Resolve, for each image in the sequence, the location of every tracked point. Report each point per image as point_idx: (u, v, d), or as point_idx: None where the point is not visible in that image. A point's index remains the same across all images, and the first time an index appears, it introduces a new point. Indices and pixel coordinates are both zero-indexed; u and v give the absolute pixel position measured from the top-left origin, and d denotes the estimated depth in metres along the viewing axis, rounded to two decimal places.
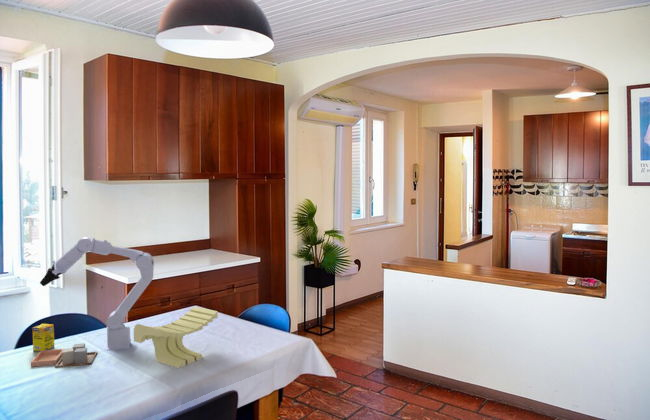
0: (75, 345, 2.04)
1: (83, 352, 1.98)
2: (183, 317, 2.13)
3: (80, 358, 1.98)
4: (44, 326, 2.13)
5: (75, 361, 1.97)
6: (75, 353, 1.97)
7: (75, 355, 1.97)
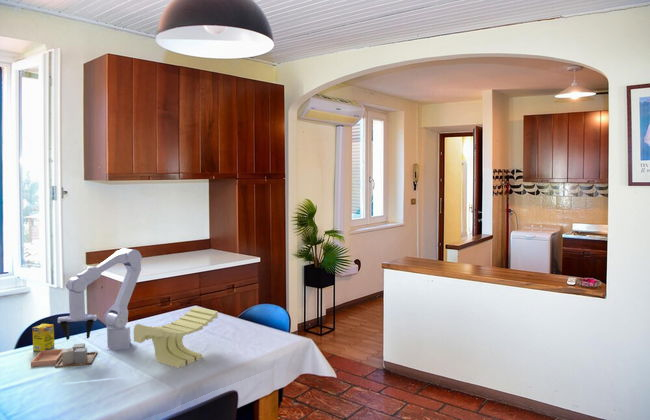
0: (75, 345, 2.04)
1: (83, 352, 1.98)
2: (183, 317, 2.13)
3: (80, 358, 1.98)
4: (44, 326, 2.13)
5: (75, 361, 1.97)
6: (75, 353, 1.97)
7: (75, 355, 1.97)
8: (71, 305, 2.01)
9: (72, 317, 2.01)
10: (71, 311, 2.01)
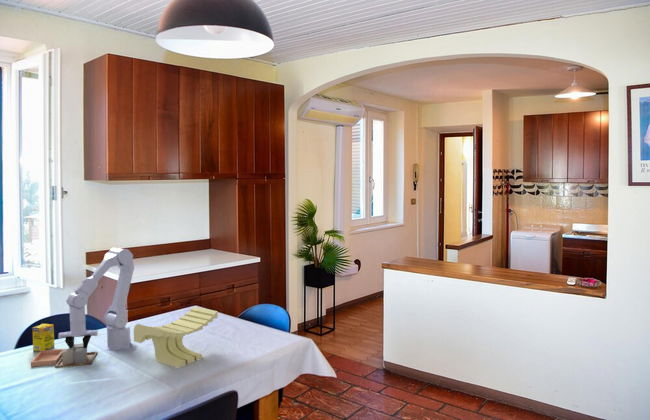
0: (75, 345, 2.04)
1: (83, 352, 1.98)
2: (183, 317, 2.13)
3: (80, 358, 1.98)
4: (44, 326, 2.13)
5: (75, 361, 1.97)
6: (75, 353, 1.97)
7: (75, 355, 1.97)
8: (72, 321, 2.01)
9: (73, 333, 2.02)
10: (72, 327, 2.01)
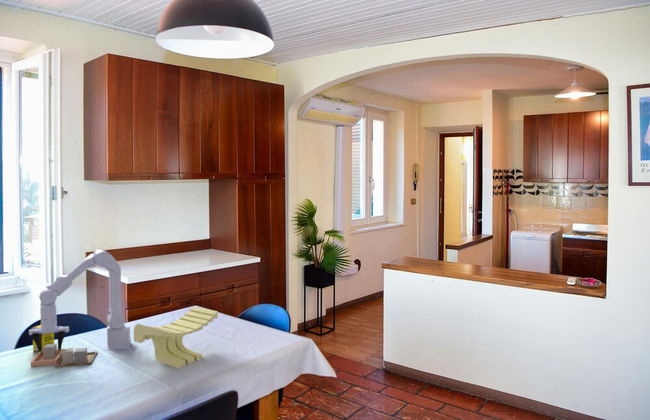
0: (46, 345, 2.04)
1: (83, 352, 1.98)
2: (183, 317, 2.13)
3: (80, 358, 1.98)
4: None
5: (75, 361, 1.97)
6: (75, 353, 1.97)
7: (75, 355, 1.97)
8: (41, 317, 2.01)
9: (43, 329, 2.01)
10: (42, 323, 2.01)
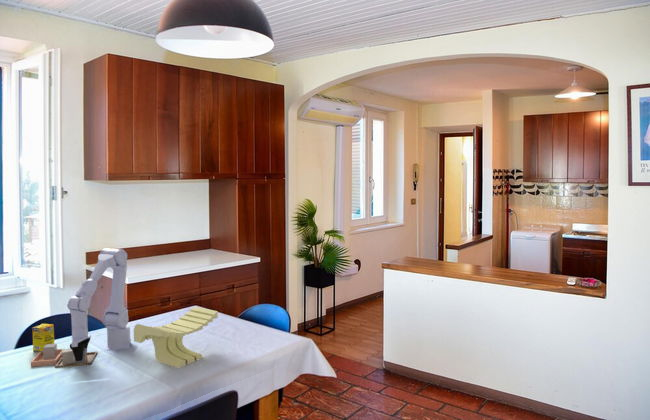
0: (46, 345, 2.04)
1: (83, 352, 1.98)
2: (183, 317, 2.13)
3: None
4: (44, 326, 2.13)
5: (75, 361, 1.97)
6: None
7: None
8: (75, 325, 1.96)
9: (85, 335, 1.98)
10: (84, 330, 1.98)
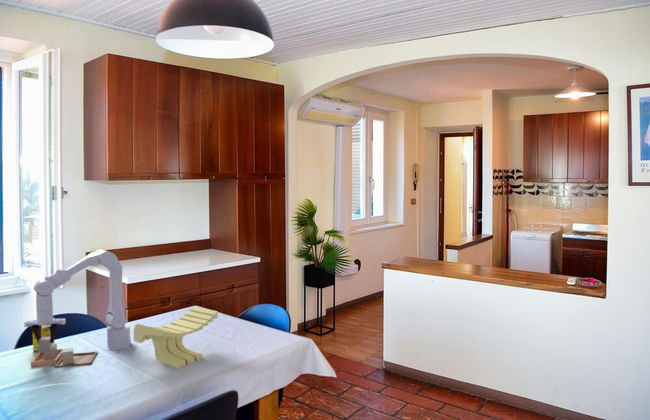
0: None
1: None
2: (183, 317, 2.13)
3: None
4: (44, 326, 2.13)
5: None
6: None
7: None
8: (37, 309, 1.96)
9: (39, 321, 1.96)
10: (38, 315, 1.96)
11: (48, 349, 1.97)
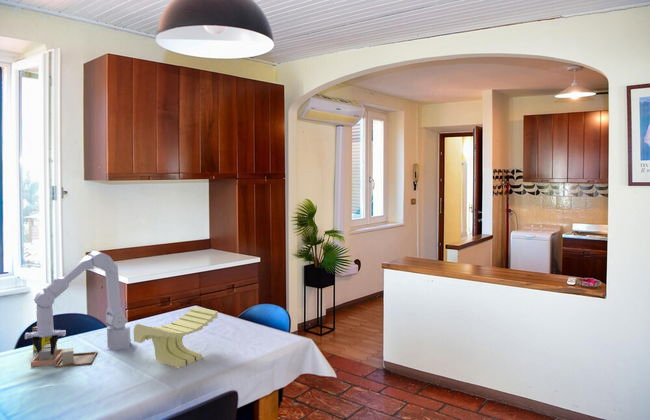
0: (46, 345, 2.04)
1: None
2: (183, 317, 2.13)
3: None
4: None
5: None
6: None
7: None
8: (38, 320, 1.96)
9: (40, 333, 1.96)
10: (38, 327, 1.96)
11: None
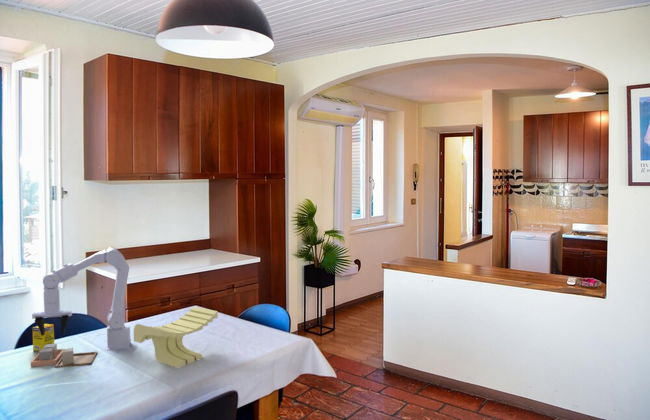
0: (46, 345, 2.04)
1: None
2: (183, 317, 2.13)
3: None
4: (44, 326, 2.13)
5: None
6: None
7: None
8: (44, 301, 2.03)
9: (47, 313, 2.02)
10: (46, 307, 2.02)
11: None
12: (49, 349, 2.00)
